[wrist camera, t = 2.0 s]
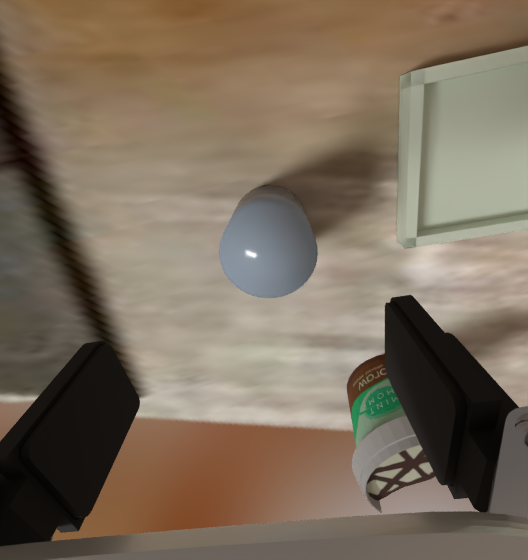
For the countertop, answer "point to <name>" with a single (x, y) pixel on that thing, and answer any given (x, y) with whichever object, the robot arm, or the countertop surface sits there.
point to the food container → (382, 435)
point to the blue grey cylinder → (268, 244)
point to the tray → (463, 149)
